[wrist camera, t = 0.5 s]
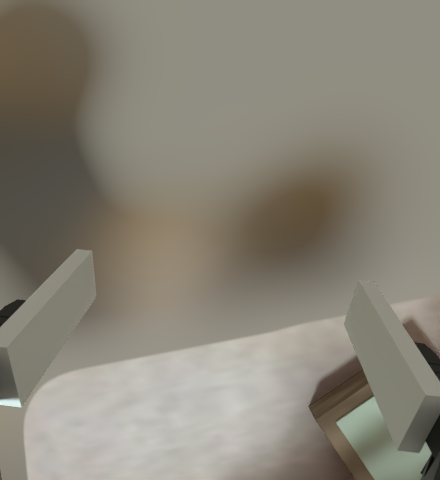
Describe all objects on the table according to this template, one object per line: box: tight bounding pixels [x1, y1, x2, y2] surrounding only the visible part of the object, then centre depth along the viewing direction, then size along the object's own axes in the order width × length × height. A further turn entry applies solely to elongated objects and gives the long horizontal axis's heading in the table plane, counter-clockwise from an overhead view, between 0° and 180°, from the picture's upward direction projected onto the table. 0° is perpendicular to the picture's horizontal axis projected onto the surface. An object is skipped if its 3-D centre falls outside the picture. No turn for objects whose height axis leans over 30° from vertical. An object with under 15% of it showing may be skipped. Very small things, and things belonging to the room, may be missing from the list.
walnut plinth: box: [309, 370, 432, 480], centre depth 44 cm, size 14×16×5 cm
